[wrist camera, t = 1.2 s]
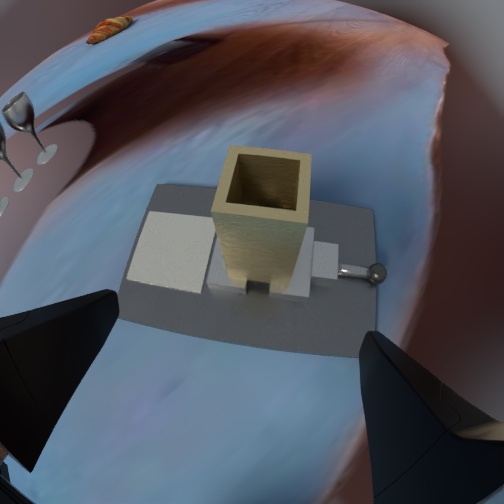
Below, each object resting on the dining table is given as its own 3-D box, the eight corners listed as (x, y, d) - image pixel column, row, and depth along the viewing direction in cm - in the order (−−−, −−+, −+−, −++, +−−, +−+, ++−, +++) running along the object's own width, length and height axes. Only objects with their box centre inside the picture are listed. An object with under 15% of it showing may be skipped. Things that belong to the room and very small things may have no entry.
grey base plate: (376, 358, 20) (418, 348, 14) (117, 317, 22) (73, 294, 16) (375, 216, 26) (402, 172, 20) (159, 189, 28) (139, 143, 22)
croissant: (129, 30, 67) (118, 16, 61) (145, 16, 61) (134, 2, 55) (87, 56, 58) (74, 41, 53) (100, 41, 52) (87, 24, 47)
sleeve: (289, 285, 21) (307, 223, 13) (228, 277, 21) (210, 211, 13) (294, 232, 23) (311, 154, 15) (239, 225, 23) (230, 145, 15)
